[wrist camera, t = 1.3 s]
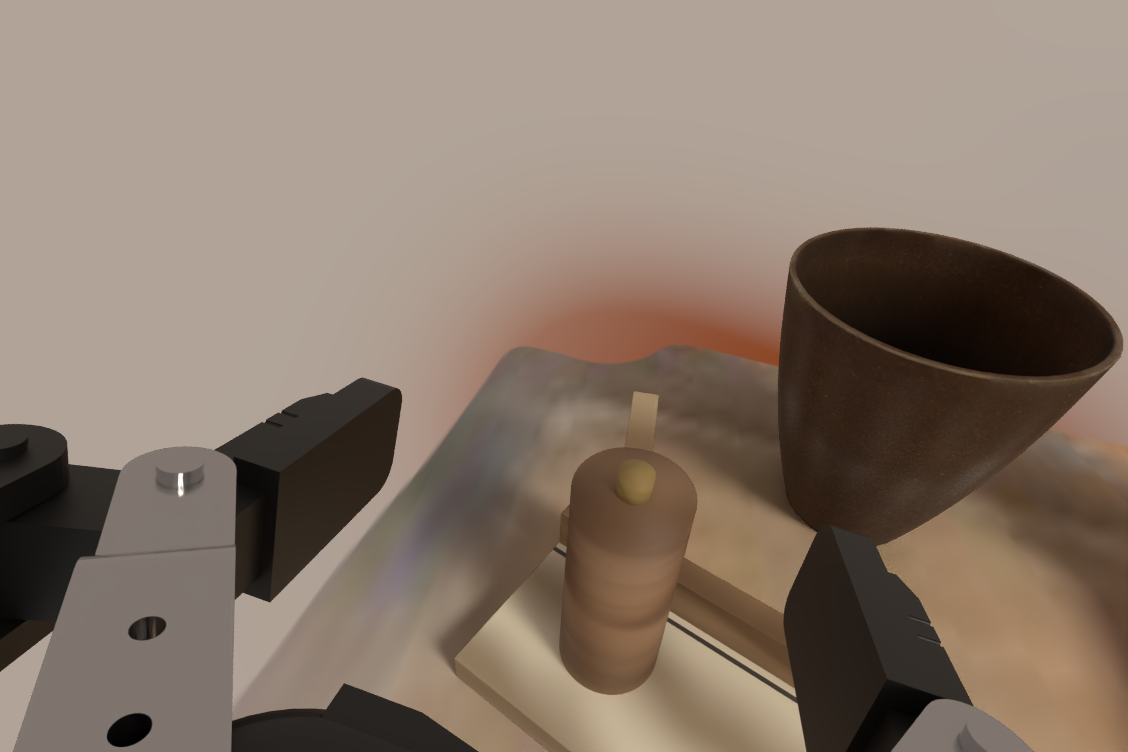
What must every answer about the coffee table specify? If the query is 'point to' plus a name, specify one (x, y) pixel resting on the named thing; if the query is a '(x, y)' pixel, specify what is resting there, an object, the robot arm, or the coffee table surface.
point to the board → (668, 697)
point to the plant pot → (922, 372)
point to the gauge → (623, 557)
